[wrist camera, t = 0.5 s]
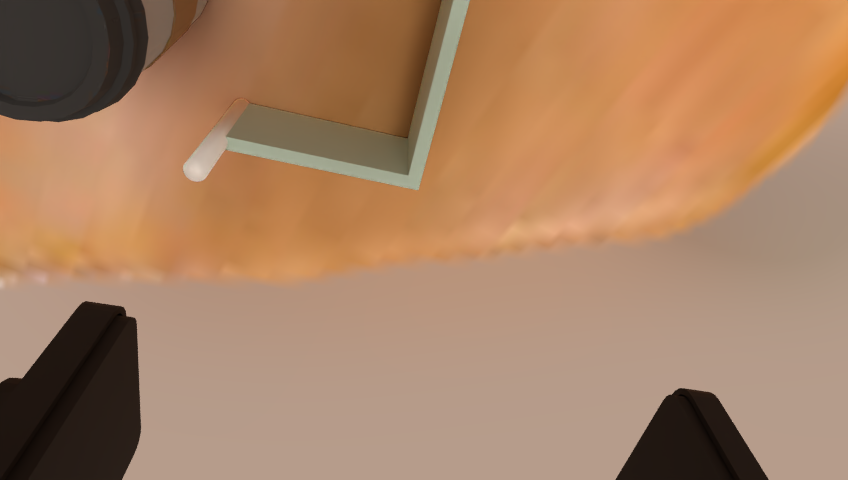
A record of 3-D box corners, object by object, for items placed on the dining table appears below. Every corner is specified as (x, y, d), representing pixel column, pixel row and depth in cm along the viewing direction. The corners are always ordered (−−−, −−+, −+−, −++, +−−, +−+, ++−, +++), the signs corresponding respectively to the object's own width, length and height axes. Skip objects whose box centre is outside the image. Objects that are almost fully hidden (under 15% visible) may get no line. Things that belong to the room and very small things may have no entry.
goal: (254, -154, 31) (196, -171, 22) (478, -89, 32) (505, -81, 24) (231, 114, 38) (182, 178, 29) (415, 154, 40) (419, 226, 31)
